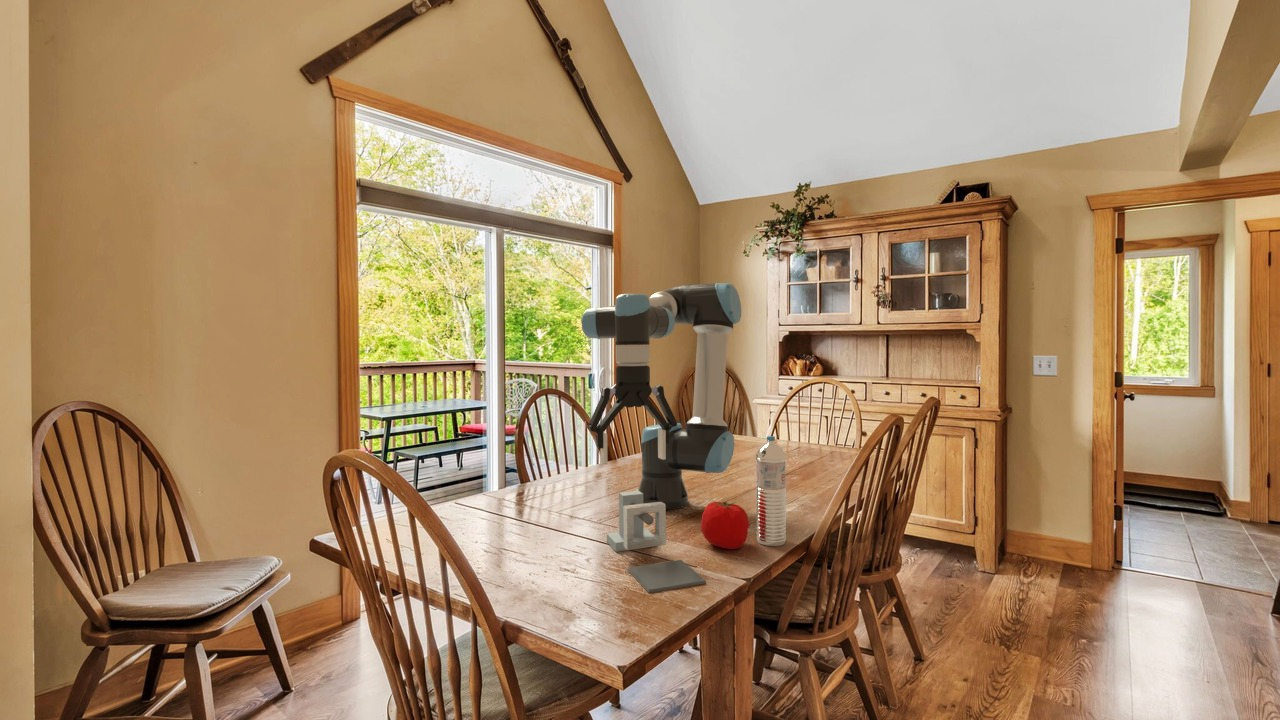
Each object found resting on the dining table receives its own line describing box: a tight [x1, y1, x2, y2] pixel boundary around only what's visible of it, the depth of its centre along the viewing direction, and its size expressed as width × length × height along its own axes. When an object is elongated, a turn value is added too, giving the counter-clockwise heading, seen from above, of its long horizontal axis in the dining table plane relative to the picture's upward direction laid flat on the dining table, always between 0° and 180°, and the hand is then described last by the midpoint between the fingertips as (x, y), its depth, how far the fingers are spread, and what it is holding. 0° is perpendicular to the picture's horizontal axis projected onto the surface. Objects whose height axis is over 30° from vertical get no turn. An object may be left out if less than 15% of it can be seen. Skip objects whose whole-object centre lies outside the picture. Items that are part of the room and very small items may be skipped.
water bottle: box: [755, 435, 787, 547], centre depth 141 cm, size 7×7×25 cm
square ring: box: [623, 502, 667, 551], centre depth 132 cm, size 9×2×9 cm, turn 110°
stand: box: [606, 490, 655, 552], centre depth 137 cm, size 16×10×12 cm, turn 20°
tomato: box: [700, 501, 750, 550], centre depth 139 cm, size 11×13×10 cm
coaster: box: [627, 559, 707, 594], centre depth 121 cm, size 12×12×1 cm
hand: (633, 461), depth 133 cm, fingers open, 13 cm apart
